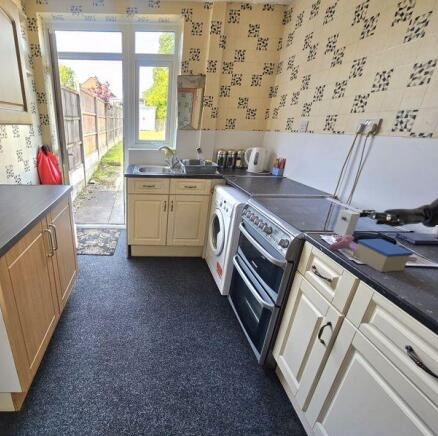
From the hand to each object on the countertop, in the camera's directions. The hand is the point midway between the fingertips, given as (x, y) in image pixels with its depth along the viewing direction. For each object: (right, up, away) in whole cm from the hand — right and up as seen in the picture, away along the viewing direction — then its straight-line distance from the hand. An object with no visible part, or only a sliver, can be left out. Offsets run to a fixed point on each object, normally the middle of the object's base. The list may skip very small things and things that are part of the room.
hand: (367, 218), depth 108 cm
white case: (-10, -7, +1) cm, 13 cm away
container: (-16, -16, -21) cm, 31 cm away
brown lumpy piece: (-20, -12, -10) cm, 26 cm away
